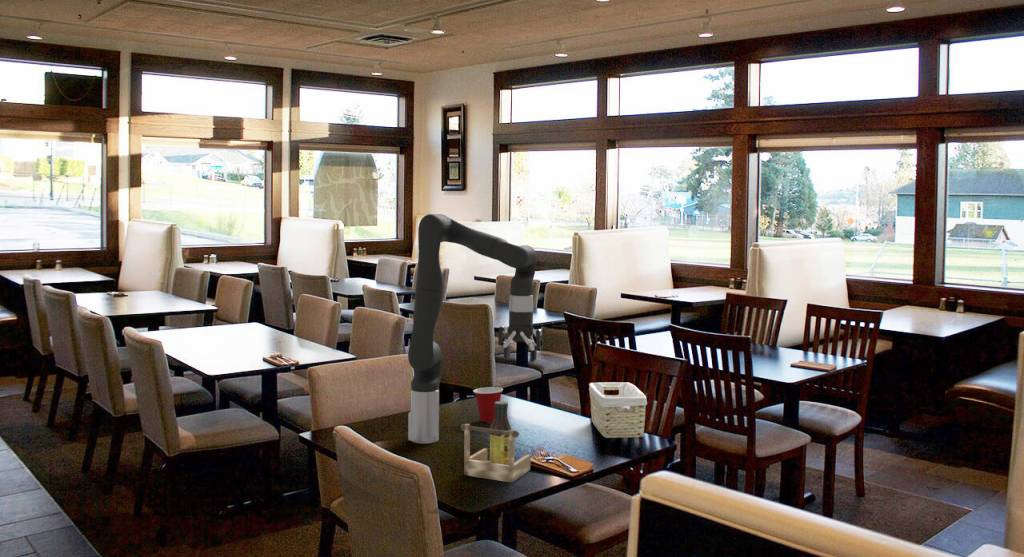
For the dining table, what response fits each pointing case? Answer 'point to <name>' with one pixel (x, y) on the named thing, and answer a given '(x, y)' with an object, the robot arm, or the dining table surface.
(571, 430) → the dining table surface
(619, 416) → the storage basket
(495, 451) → the sauce bottle
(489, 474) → the wooden table caddy
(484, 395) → the plastic cup
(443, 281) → the robot arm
